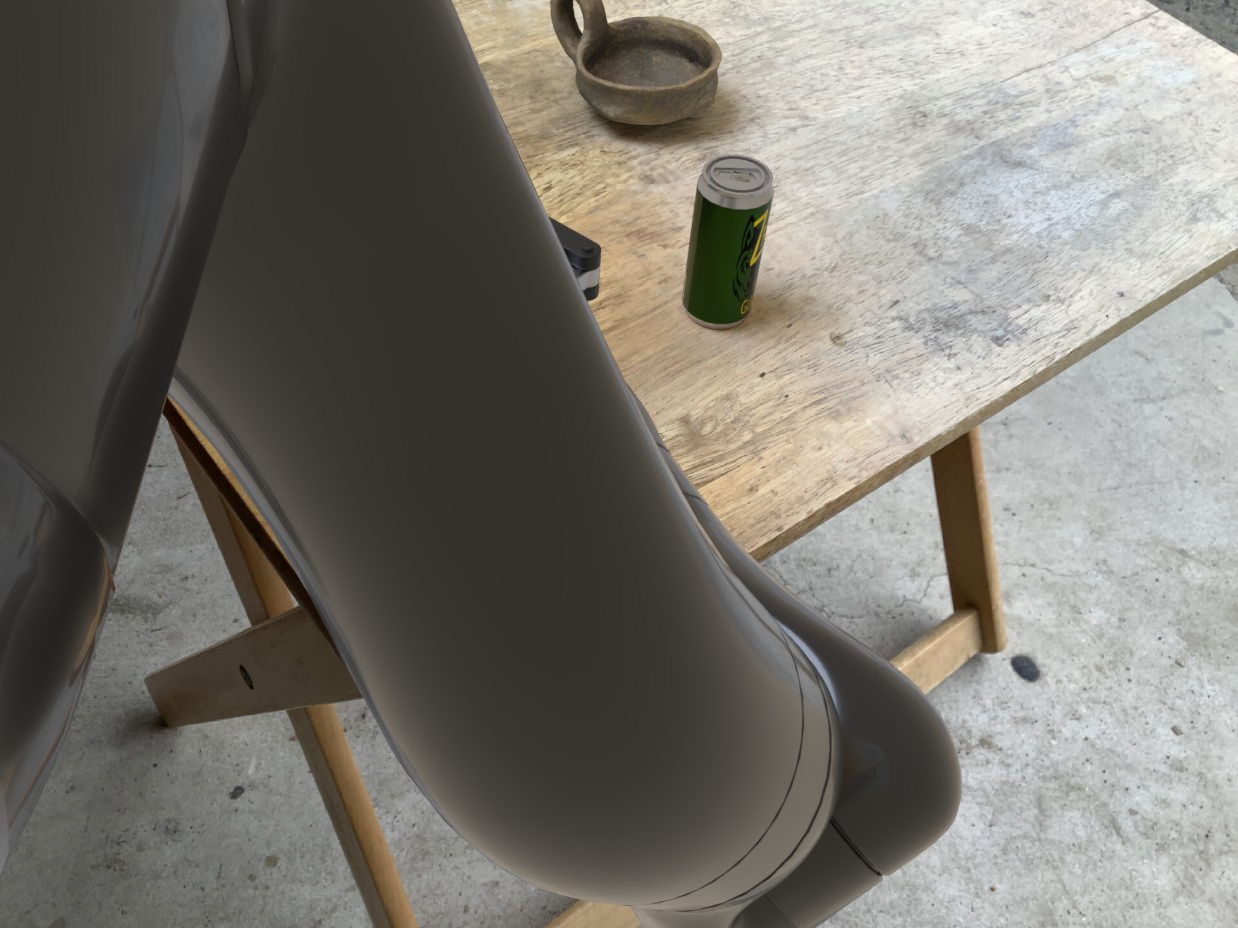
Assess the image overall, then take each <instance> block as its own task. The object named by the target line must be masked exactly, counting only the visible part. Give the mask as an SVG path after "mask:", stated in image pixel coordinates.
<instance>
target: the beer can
mask: <svg viewBox="0 0 1238 928" xmlns="http://www.w3.org/2000/svg"><path fill="white" fill-rule="evenodd" d="M773 182H774V175H773V171H772V170H771V169H770V168H769V167H768V165H767V164H765V163H763V162H762V161H761V160H759V159H756V158H754V157H751V156H749V155H743V154H737V153H736V154H734V153H733V154H731V153H730V154H729V153H727V154H721V155H716V156H715V157H712V158H710V159H708V160H707V162H705V163H704V164H703V167H702V169H701V173H700V175H699V177H698V179H697V182H696V189H695V195H694V204H693V210H692V211H693V212H692V217H691V226H690V234H689V242H688V250H687V257H686V264H685V271H684V279H683V286H682V287H683V288H682V294H681V300H682V301H681V302H682V306H683V308H684V310H685V313H686V314H687V316H688V317H689V319H690V320H692V321H693V322H694V323H695V324H697V325H699V326H702V327H704V328H709V329H713V330H726V329H731V328H735V327H737V326H738V325H740V324H741V323H742V322H743V321H744V320H745V319H746V318H747V316H749V314H750V313H751V310H752V307H753V303H754V298H755V293H756V287H757V283H758V277H759V272H760V266H761V262H762V256H763V253H764V247H765V241H766V237H767V236H766V235H767V231H768V227H769V226H768V225H769V220H770V216H771V210H772V205H773V200H774V196H775V195H774V194H775V188H774V185H773Z"/></svg>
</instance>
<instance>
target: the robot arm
mask: <svg viewBox="0 0 1238 928" xmlns="http://www.w3.org/2000/svg"><path fill="white" fill-rule="evenodd" d="M601 262H602V247H601V245H600V244H599V243H597V242H596V241H594V240H592V239H590V238H588V237H587V236H585V235H584V234H582V233H579V232H578V231H577V230H574V229H572V228H571V227H568V226H567V225H565V224H564V223H562V222H560V221H558V220H557V219H554V218H553V217H551V216H549V214H548V212H547V210H546V208H545V206H544V204H543V202H542V200H541V198H540V195H539V193H538V191H537V189H536V187H535V185H534V182H533V180H532V178H531V176H530V174H529V172H528V169H527V168H526V165H525V163H524V161H523V159H522V157H521V155H520V153H519V150H518V148H517V146H516V144H515V142H514V139H513V137H512V135H511V133H510V131H509V129H508V127H507V124H506V123H505V120H504V118H503V116H502V114H501V112H500V110H499V107H498V105H497V103H496V101H495V98H494V96H493V93H492V92H491V89H490V87H489V84H488V82H487V79H486V77H485V75H484V72H483V69H482V68H481V66H480V63H479V61H478V58H477V56H476V54H475V51H474V49H473V46H472V45H471V42H470V40H469V38H468V35H467V32H466V30H465V28H464V26H463V23H462V21H461V19H460V16H459V13H458V12H457V9H456V7H455V4H454V1H453V0H0V877H1V876H2V873H3V871H4V870H5V867H6V865H7V864H8V861H9V860H10V857H11V856H12V854H13V851H14V849H15V847H16V845H17V843H18V841H19V839H20V837H21V836H22V834H23V832H24V830H25V828H26V827H27V826H28V823H29V821H30V819H31V818H32V816H33V813H34V811H35V810H36V807H37V805H38V802H39V801H40V798H41V796H42V793H43V792H44V789H45V787H46V784H47V783H48V780H49V779H50V778H49V777H50V775H51V773H52V771H53V769H54V766H55V764H56V762H57V759H58V757H59V755H60V753H61V751H62V749H63V747H64V743H65V741H66V739H67V735H68V732H69V730H70V727H71V723H72V722H73V718H74V715H75V712H76V710H77V707H78V704H79V701H80V698H81V695H82V692H83V689H84V686H85V683H86V680H87V678H88V675H89V672H90V668H91V666H92V663H93V660H94V657H95V654H96V651H97V649H98V646H99V642H100V639H101V636H102V633H103V630H104V627H105V624H106V621H107V618H108V615H109V613H110V608H111V607H112V603H113V600H114V596H115V592H116V589H117V588H116V585H115V581H114V579H115V575H116V571H117V570H118V569H117V568H118V566H119V561H120V558H121V555H122V551H123V548H124V544H125V541H126V538H127V534H128V531H129V528H130V524H131V521H132V517H133V514H134V511H135V507H136V504H137V501H138V496H139V494H140V490H141V487H142V483H143V480H144V477H145V473H146V469H147V466H148V463H149V460H150V456H151V453H152V449H153V445H154V442H155V440H156V435H157V433H158V429H159V426H160V422H161V419H162V415H163V411H164V410H165V409H164V408H165V406H166V402H167V399H168V397H169V399H171V400H172V401H173V402H174V403H175V404H176V405H177V406H178V407H179V408H180V410H181V411H182V412H183V413H184V414H185V415H186V416H187V418H188V419H189V420H190V421H191V422H192V423H193V425H194V426H195V427H196V428H197V429H198V431H199V432H200V433H201V435H202V436H203V437H204V438H205V439H206V441H208V442H209V443H210V445H211V446H212V447H213V448H214V449H215V451H216V453H217V454H218V455H219V457H220V458H221V460H222V461H223V463H224V464H225V465H226V467H227V468H228V470H229V471H230V472H231V474H232V475H233V477H234V478H235V479H236V481H237V483H238V485H240V487H241V488H242V489H243V491H244V493H245V495H247V497H248V499H249V500H250V501H251V502H252V504H253V505H254V507H255V508H256V509H257V511H258V513H259V514H260V516H261V517H262V518H263V520H264V521H265V522H266V524H267V525H268V527H269V528H270V530H271V532H272V533H273V535H274V537H275V539H276V540H277V542H278V544H279V546H280V547H281V549H282V551H283V553H284V554H285V556H286V558H287V560H288V561H289V563H290V565H291V566H292V568H293V571H294V572H295V573H296V575H297V577H298V578H299V580H300V582H301V584H302V585H303V587H304V589H305V591H306V592H307V594H308V596H309V598H310V600H311V601H312V604H313V606H314V607H315V609H316V611H317V613H318V615H319V618H320V619H321V621H322V623H323V626H324V627H325V629H326V631H327V633H328V634H329V637H330V639H331V641H332V642H333V644H334V646H335V648H336V650H337V652H338V654H339V656H340V658H341V660H342V661H343V664H344V666H345V667H346V669H347V671H348V673H349V674H350V676H351V678H352V680H353V682H354V683H355V686H356V687H357V689H358V691H359V693H360V694H361V696H362V698H363V700H364V702H365V704H366V706H367V708H368V709H369V711H370V713H371V714H372V716H373V719H374V720H375V722H376V724H377V725H378V727H379V729H380V731H381V733H382V735H383V737H384V739H385V741H386V743H387V745H388V747H389V749H390V750H391V752H392V754H394V756H395V758H396V760H397V761H398V762H399V764H400V765H401V767H402V769H403V770H404V772H405V773H406V774H407V776H408V777H409V778H410V780H411V781H412V782H413V783H414V785H415V786H416V787H417V788H418V790H419V791H420V792H421V793H422V795H423V797H424V798H425V799H426V800H427V801H428V802H429V804H430V805H431V806H432V808H433V809H434V810H435V812H436V813H437V814H438V815H439V816H440V818H441V819H442V820H443V821H444V823H445V824H447V825H448V827H450V828H451V829H452V830H453V832H455V833H456V834H457V835H458V836H459V837H460V838H461V839H463V841H465V842H466V843H467V844H469V846H471V847H472V848H473V849H475V850H476V851H477V852H478V853H479V854H480V855H482V856H483V857H484V858H485V859H486V860H488V861H489V862H491V863H492V864H493V865H496V866H497V867H498V868H500V869H501V870H503V871H505V872H506V873H508V874H510V875H512V876H514V877H516V878H519V879H520V880H522V881H523V882H526V883H528V884H531V885H532V886H534V887H537V888H538V889H542V890H543V891H544V890H545V891H547V892H551V893H553V894H556V895H559V896H562V897H563V896H564V897H569V898H572V899H577V900H581V901H586V902H590V903H595V904H604V905H612V906H621V907H628V908H631V910H632V912H633V914H635V917H636V918H637V920H638V921H639V922H640V924H641V925H642V926H643V928H818V927H819V926H821V925H822V924H823V923H825V922H826V921H828V920H829V919H831V918H832V917H833V916H834V915H837V914H838V913H839V912H841V911H842V910H843V909H844V908H846V907H847V906H849V905H851V904H852V903H853V902H854V901H856V900H858V899H859V898H861V897H862V896H863V895H864V894H866V893H868V892H869V891H870V890H872V889H873V888H874V887H876V886H877V885H879V884H880V883H881V882H883V879H884V876H885V877H889V876H891V875H893V874H894V873H896V872H897V871H898V870H900V869H902V868H903V867H905V865H907V864H908V863H910V862H911V861H913V860H915V859H916V858H917V857H919V856H920V855H921V854H922V853H924V852H926V851H927V850H928V849H930V848H931V847H932V846H933V845H935V844H936V843H937V842H938V841H939V840H940V839H941V838H942V836H944V835H945V834H946V833H947V832H948V831H949V830H950V828H951V827H952V825H953V824H954V822H955V820H956V818H957V816H958V813H959V809H960V804H961V801H962V795H963V794H962V793H963V776H962V770H961V764H960V757H959V753H958V750H957V746H956V743H955V740H954V738H953V736H952V734H951V731H950V728H949V727H948V725H947V724H946V722H945V720H944V719H943V717H942V716H941V714H940V712H939V710H938V709H937V707H936V706H935V705H934V703H933V702H932V701H931V699H929V698H928V696H927V695H926V694H925V693H924V691H922V690H921V688H919V686H917V684H916V683H915V682H913V680H912V679H910V677H909V676H907V675H906V674H905V673H903V672H902V671H901V670H900V669H899V668H897V667H896V666H895V665H894V664H892V663H891V662H890V661H889V660H888V659H887V658H885V657H884V656H882V655H881V654H880V653H879V652H878V651H876V650H875V649H873V648H872V647H870V646H869V645H868V644H866V643H865V642H863V641H862V640H861V639H859V637H856V636H855V635H854V634H852V633H851V632H849V631H847V629H845V628H844V627H842V626H841V625H839V624H837V622H834V621H833V620H832V619H830V618H829V617H827V616H826V615H825V614H823V613H822V612H820V611H819V610H818V609H816V608H815V607H813V606H812V605H811V604H810V603H808V602H807V601H805V600H804V599H803V598H801V597H800V596H799V595H798V594H796V593H795V592H794V591H792V590H791V589H790V588H788V587H787V586H786V585H785V584H784V583H783V582H781V581H780V580H779V579H778V578H777V577H775V576H774V575H773V574H772V573H771V572H770V571H768V570H767V569H766V568H764V566H763V565H762V564H760V563H759V562H758V561H757V560H756V559H755V558H754V557H753V556H752V555H751V553H749V552H748V551H747V550H746V548H745V547H743V545H742V544H741V543H740V542H739V541H738V539H736V538H735V537H734V535H733V534H732V533H731V532H730V531H729V529H728V528H727V527H726V526H725V524H724V523H723V522H722V520H721V519H720V518H719V517H718V515H717V514H716V512H714V510H713V509H712V508H711V506H710V505H709V503H708V502H707V500H705V498H704V497H703V496H702V494H701V492H700V491H699V490H698V488H697V487H696V486H695V485H694V483H693V482H692V481H691V479H690V478H689V476H688V475H687V473H686V472H685V471H684V470H683V468H682V467H681V466H680V464H679V462H677V460H676V458H674V456H673V455H672V453H671V452H670V450H669V449H668V447H667V446H666V444H665V442H664V440H663V437H661V434H660V432H659V430H658V428H657V426H656V424H655V423H654V421H653V419H652V416H651V415H650V413H649V411H648V410H647V408H646V407H645V405H644V404H643V402H642V401H641V400H640V398H639V397H638V396H637V395H636V393H635V392H634V391H633V389H632V387H631V386H630V385H629V384H628V382H627V381H626V380H625V377H624V375H623V373H622V372H621V369H620V367H619V365H618V363H617V361H616V359H615V357H614V355H613V353H612V351H611V349H610V346H609V344H608V342H607V340H606V338H605V336H604V334H603V332H602V330H601V328H600V326H599V324H598V321H597V319H596V317H595V314H594V312H593V310H592V307H591V306H590V303H589V302H590V301H594V300H596V299H597V298H598V297H599V295H600V277H601V265H602V263H601Z"/></svg>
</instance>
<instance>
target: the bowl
mask: <svg viewBox="0 0 1238 928" xmlns="http://www.w3.org/2000/svg"><path fill="white" fill-rule="evenodd" d="M574 1H575V2H576V3H577V5H578V6H579V9H580V12H581V15H582V19H583V20H582V21H583V30H581V29H580V27H579V24H578V21H577V18H576V16H575V15H576V14H575V9H574ZM549 8H550V10H549V11H550V20H551V23H552V27H553V30H554V34H555V36H556V38H557V40H558V41H559V44H560V45H561V47H562V49H563V51H564V53H565V54H566V56H567V57H568V58H569V59H571V61H572V62H573V65H574V67H575V69H576V70H575V80H574V81H575V85H576V86H575V87H576V89H577V91H578V93H579V95H580V96H581V97H582V99H583V100H584V101H585V102H586V103H587V104H588V105H589V106H590V107H591V108H592V109H593V110H594V111H595V112H596V113H598V114H599V115H601V116H602V117H604V118H605V119H607V120H609V121H612V122H618V123H621V124H628V125H641V126H655V125H661V124H662V126H663V125H665V124H671V123H674V122H677V121H679V120H683V119H686V118H690V117H692V116H695V115H697V114H700V113H701V112H704V111H705V110H707V109H709V108H711V107H712V106H713V105H714V103H715V101H716V93H717V91H718V89H717V88H718V85H719V75H718V69H719V66H720V64H721V62H722V60H723V53H722V50H721V47H720V45H719V44H718V42H717V41H716V40H715V39H714V37H713V36H712V35H710V34H709V33H708V31H706V30H705V29H704V28H703V27H701V26H699V25H696V24H693V23H691V22H688V21H685V20H683V19H677V18H673V17H669V16H664V15H663V16H662V15H650V16H649V15H648V16H647V15H646V16H632V17H627V18H622V19H619V20H615V21H611V22H608V18H607V13H606V9H605V5H604V3H603V0H550V1H549Z"/></svg>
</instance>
